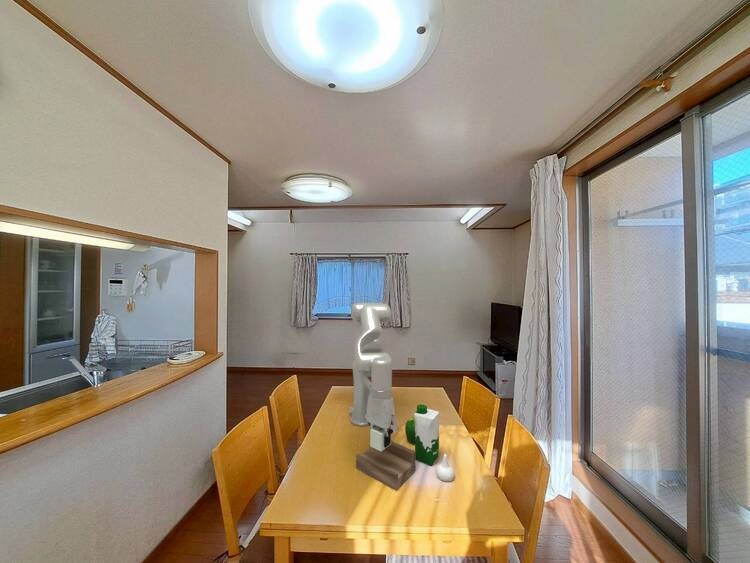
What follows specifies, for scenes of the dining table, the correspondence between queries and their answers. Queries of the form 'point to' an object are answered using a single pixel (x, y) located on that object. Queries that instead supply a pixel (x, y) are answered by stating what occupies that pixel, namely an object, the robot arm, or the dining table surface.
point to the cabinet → (377, 438)
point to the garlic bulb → (445, 470)
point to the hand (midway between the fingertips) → (380, 442)
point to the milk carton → (426, 435)
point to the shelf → (388, 464)
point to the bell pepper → (410, 430)
